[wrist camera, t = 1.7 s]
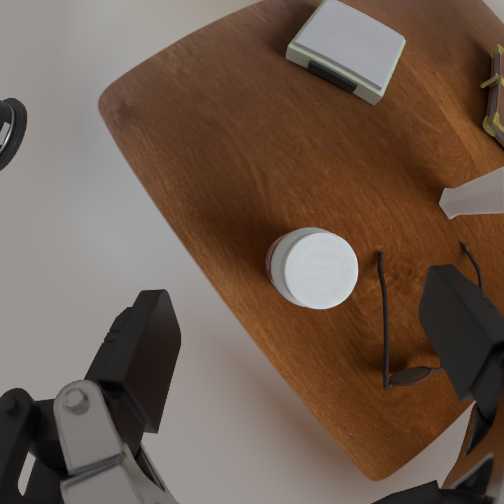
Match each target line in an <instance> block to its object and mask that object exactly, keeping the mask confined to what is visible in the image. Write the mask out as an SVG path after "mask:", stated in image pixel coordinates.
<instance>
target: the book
mask: <svg viewBox="0 0 504 504" xmlns="http://www.w3.org/2000/svg"><path fill="white" fill-rule="evenodd" d="M496 49H497V53H498V54H496V52H494V51H493V50H491V52H490V54H491V58H492V64H491V78H490V79H489V80H488V81H486V82H484V83H482V84H481V85H480V86H481V88H484V87H486V86H487V85H489V88H490V89H489V98H488V106H487V113H486V117H485V118H484V121H483V128H484V129H485V131H486V132H487V133H489V134H490V135H491V136H494V137H495V138H496V139H497V140H498V141H499V143H500V144H501V145H502V146H503V147H504V49H503V48H502V47H501V46H500V45H498V44H497V46H496Z"/></svg>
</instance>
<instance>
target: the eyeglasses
mask: <svg viewBox="0 0 504 504" xmlns="http://www.w3.org/2000/svg"><path fill="white" fill-rule="evenodd" d="M462 246H463V248H464V250H465V252H466V254H467V255H468V257H469V258H470V259H471V261H472V263H473V265H474V267H475V269H476V271H477V274H478V280H479V288H480V289H481V290H482V291H483V282H482V274H481V271H480V268H479V266H478V264H477V262H476V260H475V258H474V257H473V255H472V254H471V253H470V251H469V249H468V247H467V246H466V244H465V243H463V244H462ZM382 261H383V252H379V257H378V274H379V279H380V283H381V288H382V297H383V318H384V359H383V388H384V389H385V390H386V389H389V388H391V387H393V386H408V385H412V384H416V383H419V382H421V381H424V380H426V379H427V378H428V377H430V375H431V373H432V372H440V371H442V370H443V369H444V367H443V365H442V363H441V361H440V363H441V367H440V368H429V367H426V366H420V367H413V368H408V369H405V370H402V371H399V372H397V373H395V374H393V375H392V376H391V377H390V378H389V383H388V367H389V331H388V306H387V291H386V285H385V280H384V275H383V270H382Z"/></svg>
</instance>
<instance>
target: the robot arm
mask: <svg viewBox="0 0 504 504" xmlns="http://www.w3.org/2000/svg"><path fill="white" fill-rule="evenodd" d="M15 126H16V112H15V110H14V108H13V107H12V106H10V105H9V104H6V103H4V102H2V101H1V100H0V156H1V155H2V154H3V153H4V151H5V150H6V148H7V146H8V145H9V143H10V141H11V138H12V136H13V133H14V130H15ZM419 320H420V323H421V326H422V327H423V329H424V331H425V333H426V335H427V336H428V338H429V340H430V342H431V344H432V346H433V348H434V349H435V351H436V353H437V355H438V357H439V359H440V361H441V363H442V365H443V367H444V369H445V371H446V373H447V375H448V377H449V379H450V381H451V383H452V385H453V387H454V390H455V392H456V394H457V396H458V398H459V400H460V402H462V401H465V400H467V399H470V398H473V397H474V399H475V401H476V403H475V404H474V406H473V408H472V411H471V415H470V420H469V423H468V427H467V430H466V434H465V437H464V441H463V444H462V447H461V450H460V453H459V457H458V459H457V461H456V463H455V465H454V467H453V468H452V470H451V471H450V473H449V474H448V476H447V477H446V479H445V481H444V483H443V485H442V487H441V489H439V487H438V483H437V480H435V481H432V482H429V483H426V484H423V485H420V486H417V487H414V488H411V489H407V490H404V491H400V492H397V493H393V494H390V495H388V496H386V497H385V498H382V499H380V500H378V501H376V502H374V503H372V504H504V317H503V316H502V314H501V313H500V312H499V310H498V309H497V308H496V307H495V306H493V303H492V302H491V301H490V300H489V298H486V295H485V294H484V292H483V291H482V290H481V289H480V288H479V287H478V285H476V284H474V283H473V282H471V281H470V280H468V279H467V278H465V277H463V275H462V274H461V273H460V272H459V271H458V270H457V269H456V268H455V266H453V265H452V264H445V265H438V266H431V267H429V269H428V271H427V274H426V278H425V283H424V288H423V292H422V296H421V301H420V305H419ZM180 346H181V332H180V328H179V324H178V321H177V318H176V315H175V312H174V309H173V306H172V303H171V299H170V296H169V294H168V292H167V291H166V290H165V289H162V290H143V291H141V292H140V293H139V295H138V297H137V299H136V301H135V302H134V304H133V306H132V307H127V308H126V309H125V310H124V311H123V312H122V313H121V314H120V315H118V316H117V317H116V319H115V321H114V322H113V324H112V326H111V328H110V332H108V333H107V336H106V337H105V339H104V343H102V345H101V347H100V348H99V350H98V352H97V354H96V356H95V358H94V360H93V362H92V364H91V366H90V368H89V370H88V372H87V374H86V376H85V378H84V380H78V381H74V382H72V383H69V384H68V385H66V386H65V387H64V388H63V389H62V390H60V392H59V393H58V394H57V396H56V398H55V399H49V400H41V401H34V400H33V399H32V397H31V396H30V395H29V394H28V393H27V392H26V391H25V390H24V389H21V388H14V389H11V390H9V391H7V392H6V393H4V394H3V395H2V396H1V398H0V504H179V503H178V502H177V501H176V499H175V498H174V497H173V495H172V494H171V493H170V491H169V490H168V488H167V486H166V485H165V483H164V481H163V480H162V478H161V476H160V475H159V473H158V471H157V470H156V468H155V466H154V464H153V462H152V460H151V459H150V457H149V455H148V453H147V451H146V449H145V447H144V445H143V444H142V442H141V440H142V436H143V432H148V433H158V430H159V426H160V422H161V418H162V414H163V410H164V406H165V402H166V398H167V394H168V391H169V386H170V383H171V379H172V376H173V372H174V368H175V364H176V361H177V357H178V354H179V350H180ZM28 452H29V453H31V454H32V455H33V456H34V457H35V458H36V460H35V462H34V466H33V468H32V472H31V475H30V478H29V481H28V485H27V488H26V491H25V494H24V495H23V496H22V495H21V494H20V492H19V489H18V480H19V477H20V474H21V471H22V468H23V465H24V462H25V459H26V456H27V453H28Z"/></svg>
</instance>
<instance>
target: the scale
mask: <svg viewBox="0 0 504 504" xmlns="http://www.w3.org/2000/svg"><path fill="white" fill-rule="evenodd" d="M405 42H406V40H404V37H403V36H402V35H400V34H398V33H397V32H395V31H394V30H392V29H390V28H389V27H387V26H385V25H383V24H382V23H380V22H378V21H376V20H375V19H373V18H371V17H369V16H367V15H365V14H363V13H361V12H360V11H358V10H356V9H354V8H352V7H350V6H347V5H345V4H343V3H341V2H339V1H337V0H324V1H323V2H322V3H321V4H320V6H319V7H318V8H317V9H316V10H315V12H314V13H313V14H312V15H311V17H310V18H309V19H308V21H307V22H306V23H305V24H304V26H303V27H302V28H301V29H300V31H299V32H298V33H297V35H296V36H295V37H294V39H293V40H292V41H291V43H290V44H289V45H288V48H287V52H286V57H285V58H286V59H288V60H290V61H292V62H294V63H296V64H299V65H301V66H303V67H305V68H307V70H309V71H311V72H313V73H315V74H317V75H319V76H321V77H323V78H325V79H327V80H329V81H330V82H332V83H334V84H336V85H338V86H340V87H341V88H343V89H345V90H347V91H348V92H350V93H354V94H355V95H357V96H359V97H360V98H362V99H364V100H365V101H367V102H369V103H370V104H372V105H373V106H375V104H376V103H377V102H378V101H379V100H380V99H381V98H382V96H383V94H384V92H385V89H386V87H387V85H388V83H389V80H390V78H391V76H392V73H393V71H394V69H395V66H396V64H397V62H398V59H399V57H400V54H401V52H402V50H403V47H404V45H405Z"/></svg>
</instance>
